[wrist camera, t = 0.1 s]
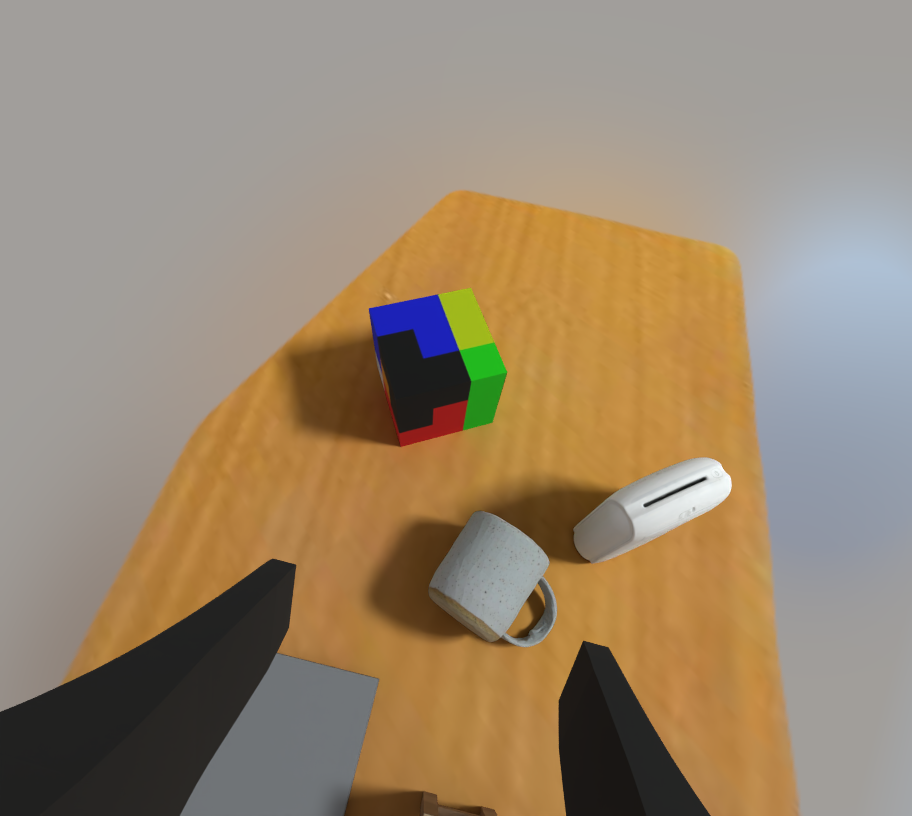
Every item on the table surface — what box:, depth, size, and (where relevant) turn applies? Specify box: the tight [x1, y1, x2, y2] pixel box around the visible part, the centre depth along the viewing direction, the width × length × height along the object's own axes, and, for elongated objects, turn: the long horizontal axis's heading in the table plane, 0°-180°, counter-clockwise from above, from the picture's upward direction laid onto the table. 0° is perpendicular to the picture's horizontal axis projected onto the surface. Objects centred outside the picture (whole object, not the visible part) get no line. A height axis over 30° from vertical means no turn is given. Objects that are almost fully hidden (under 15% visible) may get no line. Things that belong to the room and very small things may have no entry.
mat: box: [180, 653, 379, 816], centre depth 35 cm, size 14×14×1 cm
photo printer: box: [573, 457, 731, 563], centre depth 40 cm, size 10×4×12 cm, turn 113°
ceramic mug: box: [428, 511, 557, 647], centre depth 39 cm, size 11×8×8 cm
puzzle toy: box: [369, 288, 507, 447], centre depth 47 cm, size 10×10×10 cm
